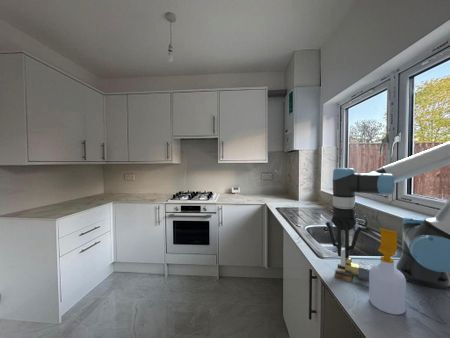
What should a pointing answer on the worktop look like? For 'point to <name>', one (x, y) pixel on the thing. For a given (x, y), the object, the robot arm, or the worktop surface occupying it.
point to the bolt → (351, 267)
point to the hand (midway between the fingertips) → (343, 264)
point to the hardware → (363, 270)
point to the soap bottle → (387, 278)
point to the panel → (351, 278)
